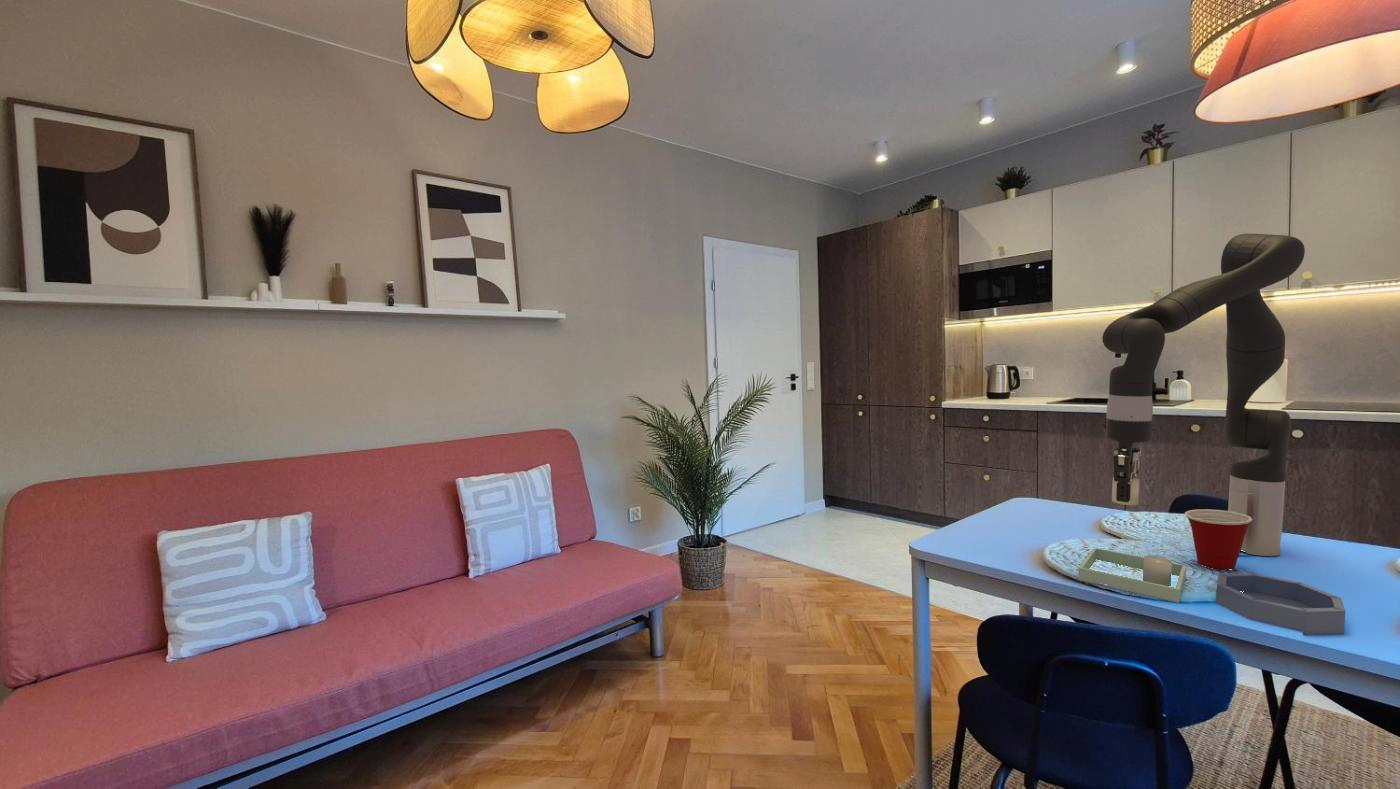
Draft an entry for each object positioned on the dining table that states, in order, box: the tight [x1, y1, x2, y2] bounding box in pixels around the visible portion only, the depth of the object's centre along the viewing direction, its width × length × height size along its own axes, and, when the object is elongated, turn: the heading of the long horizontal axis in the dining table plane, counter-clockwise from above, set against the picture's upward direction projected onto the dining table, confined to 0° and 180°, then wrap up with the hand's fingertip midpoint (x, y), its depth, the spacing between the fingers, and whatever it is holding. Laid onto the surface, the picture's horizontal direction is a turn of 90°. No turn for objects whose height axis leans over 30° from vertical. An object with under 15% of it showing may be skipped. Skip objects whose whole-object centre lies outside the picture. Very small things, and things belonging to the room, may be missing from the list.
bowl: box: [1215, 572, 1347, 636], centre depth 104 cm, size 16×16×4 cm
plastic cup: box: [1184, 508, 1252, 571], centre depth 124 cm, size 11×11×12 cm
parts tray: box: [1077, 547, 1187, 604], centre depth 118 cm, size 16×16×3 cm
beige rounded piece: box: [1143, 555, 1173, 586], centre depth 115 cm, size 4×4×5 cm
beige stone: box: [1111, 476, 1140, 506], centre depth 118 cm, size 4×4×5 cm
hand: (1125, 498), depth 118 cm, fingers closed on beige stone, 4 cm apart
